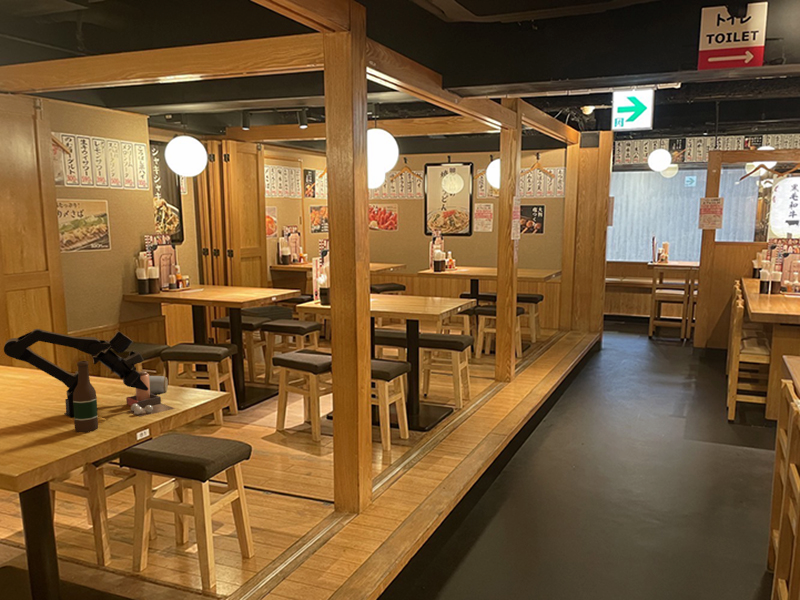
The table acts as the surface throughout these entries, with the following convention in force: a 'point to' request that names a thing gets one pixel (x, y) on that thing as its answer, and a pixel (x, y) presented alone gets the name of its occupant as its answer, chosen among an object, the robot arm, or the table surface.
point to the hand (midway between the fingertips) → (146, 386)
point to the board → (154, 409)
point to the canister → (143, 393)
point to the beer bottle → (84, 401)
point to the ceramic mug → (158, 384)
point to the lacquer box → (144, 401)
